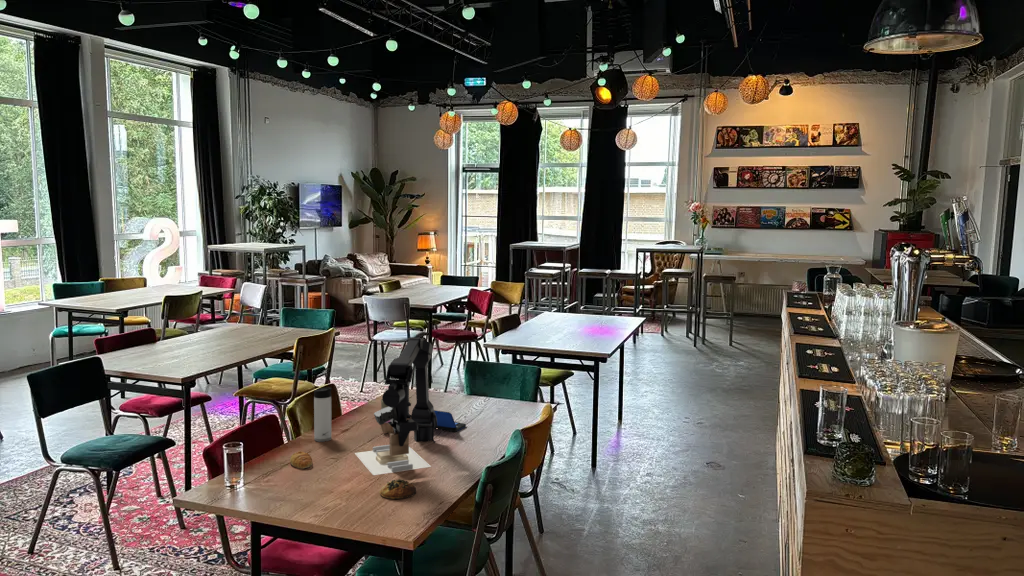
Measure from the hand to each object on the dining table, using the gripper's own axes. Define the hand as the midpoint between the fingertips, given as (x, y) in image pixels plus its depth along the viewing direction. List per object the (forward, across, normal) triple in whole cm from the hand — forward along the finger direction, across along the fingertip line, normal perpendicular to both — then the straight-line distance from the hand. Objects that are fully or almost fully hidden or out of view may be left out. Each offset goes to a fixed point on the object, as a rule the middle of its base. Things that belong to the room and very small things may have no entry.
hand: (400, 445), depth 234 cm
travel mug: (+9, -44, -16) cm, 48 cm away
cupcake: (+9, -42, +9) cm, 44 cm away
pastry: (+9, -20, -28) cm, 36 cm away
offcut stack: (+8, -9, 0) cm, 12 cm away
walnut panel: (+3, 0, 0) cm, 3 cm away
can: (+9, -66, +19) cm, 69 cm away
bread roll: (+9, +18, -7) cm, 21 cm away
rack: (+9, -9, 0) cm, 13 cm away
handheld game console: (+10, -40, +31) cm, 51 cm away
